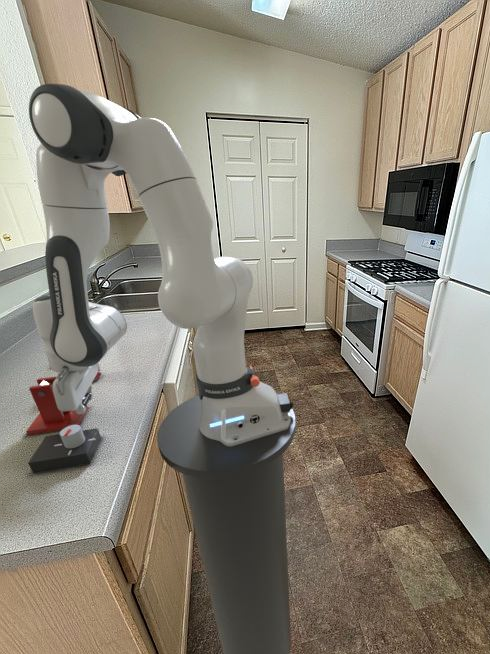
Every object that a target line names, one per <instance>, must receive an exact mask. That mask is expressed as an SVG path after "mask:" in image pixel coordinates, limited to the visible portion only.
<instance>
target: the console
mask: <svg viewBox="0 0 490 654" xmlns="http://www.w3.org/2000/svg"><path fill="white" fill-rule="evenodd" d="M82 431H83V434H84V437H85V442H84V443H83V444H82V445H80V446H78V447H75V448H66V447H65V446H64V443H63V441H62V439H61V436H60V433H58V434H50V435H45V437H44V438H43V439H42V441H41V443H40V444H39V446H38V447H37V449H36V450H35V452H34V453H33V455H32V456H31V458H30V459H29V461H27V463H28V466H29V468H30V470H31V472H32V474H40V473H45V472H51V471H55V470H56V471H57V470H61V469H62V470H63V469H68V468H74V467H79V466H80V467H81V466H84V465H85V466H86V465H90V464H91V463H92V461H93V460H94V459H93V458H94V456H95V454H96V451H97V449H98V447H99V444H100V443H101V441H102V436H101V433H100V430H99V428H98V427H97V428H90V429H84V430H82Z"/></svg>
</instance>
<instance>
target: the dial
mask: <svg viewBox="0 0 490 654" xmlns="http://www.w3.org/2000/svg"><path fill="white" fill-rule="evenodd" d="M59 434H60V436H61V439H62V441H63V443H64V446H65V447H66V448H75V447H78V446H80V445H82V444H83V443H84V442H85V437H84V434H83V430H82V427H81V425H80V424H79V425H71V426H68V427H65V428H64V429H62V430H59Z"/></svg>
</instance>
